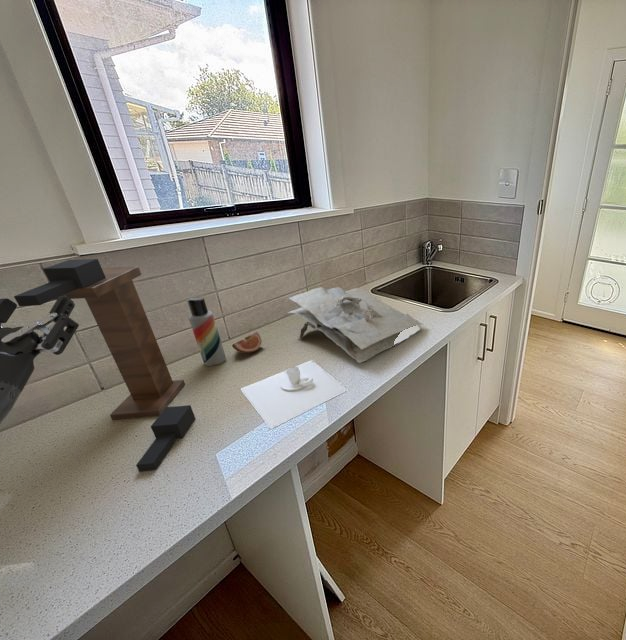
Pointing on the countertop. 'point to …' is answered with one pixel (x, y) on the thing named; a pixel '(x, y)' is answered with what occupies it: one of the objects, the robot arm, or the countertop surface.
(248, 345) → the fruit slice
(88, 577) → the countertop surface
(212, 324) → the lotion bottle
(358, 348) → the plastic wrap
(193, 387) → the countertop surface
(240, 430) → the countertop surface
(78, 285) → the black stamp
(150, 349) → the walnut stand
